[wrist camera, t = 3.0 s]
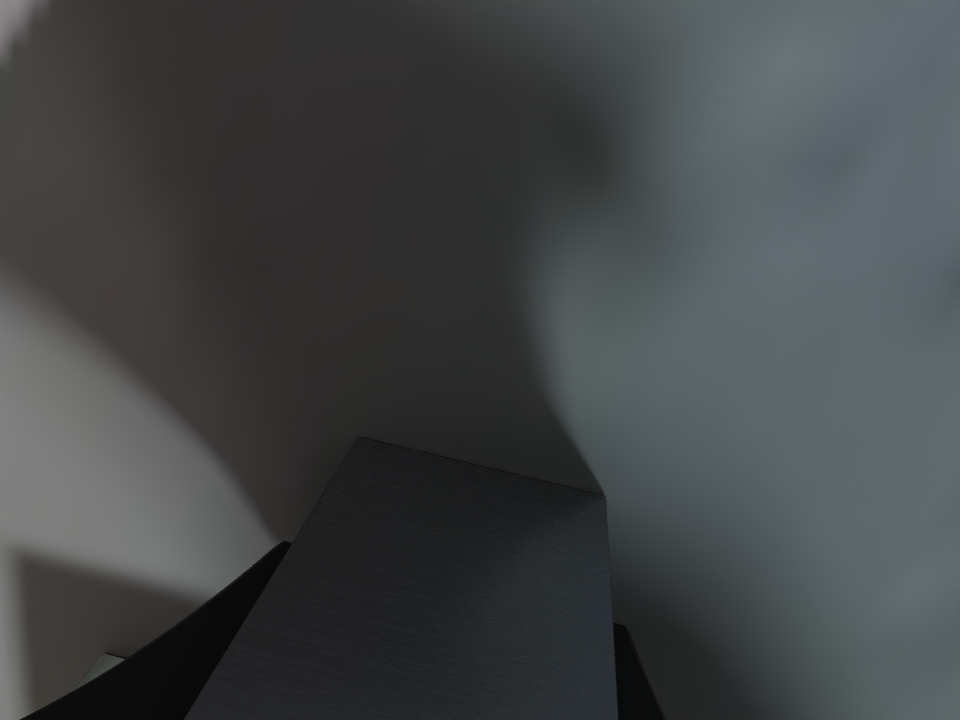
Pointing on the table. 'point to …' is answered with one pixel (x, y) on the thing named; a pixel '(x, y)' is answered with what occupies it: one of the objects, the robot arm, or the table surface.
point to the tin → (429, 602)
